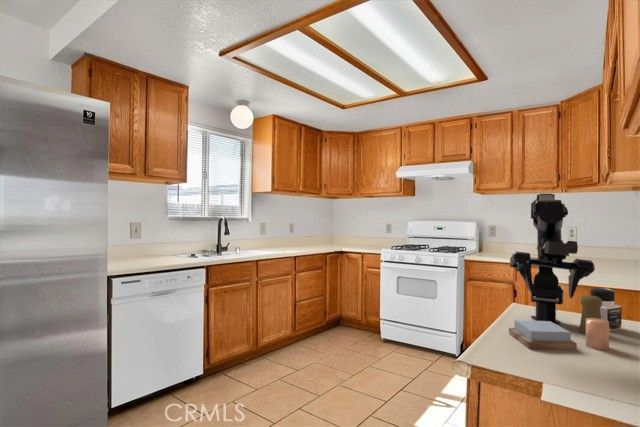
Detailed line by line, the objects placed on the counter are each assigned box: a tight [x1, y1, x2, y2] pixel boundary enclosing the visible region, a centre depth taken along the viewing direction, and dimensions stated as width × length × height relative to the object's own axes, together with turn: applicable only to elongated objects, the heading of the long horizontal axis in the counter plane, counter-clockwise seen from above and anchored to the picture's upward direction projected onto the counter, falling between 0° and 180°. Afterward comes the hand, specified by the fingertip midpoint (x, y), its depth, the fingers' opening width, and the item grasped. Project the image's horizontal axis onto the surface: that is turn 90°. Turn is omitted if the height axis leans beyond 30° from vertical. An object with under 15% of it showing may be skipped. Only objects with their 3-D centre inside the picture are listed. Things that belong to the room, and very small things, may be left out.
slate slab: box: [513, 319, 572, 342], centre depth 103 cm, size 10×10×2 cm
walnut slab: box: [508, 327, 578, 351], centre depth 103 cm, size 12×12×2 cm
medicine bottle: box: [589, 287, 623, 332], centre depth 116 cm, size 7×7×12 cm
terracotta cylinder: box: [585, 318, 610, 351], centre depth 99 cm, size 5×5×7 cm
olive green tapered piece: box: [578, 294, 602, 335], centre depth 111 cm, size 6×6×11 cm
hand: (550, 294), depth 97 cm, fingers open, 9 cm apart
